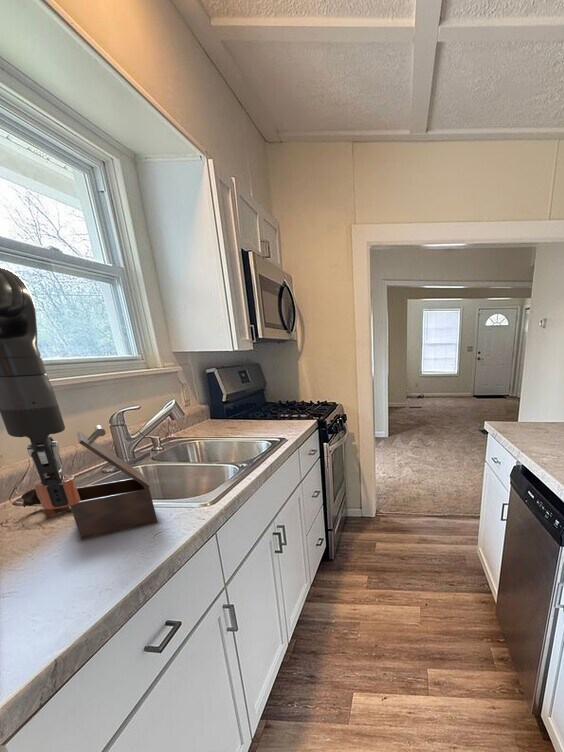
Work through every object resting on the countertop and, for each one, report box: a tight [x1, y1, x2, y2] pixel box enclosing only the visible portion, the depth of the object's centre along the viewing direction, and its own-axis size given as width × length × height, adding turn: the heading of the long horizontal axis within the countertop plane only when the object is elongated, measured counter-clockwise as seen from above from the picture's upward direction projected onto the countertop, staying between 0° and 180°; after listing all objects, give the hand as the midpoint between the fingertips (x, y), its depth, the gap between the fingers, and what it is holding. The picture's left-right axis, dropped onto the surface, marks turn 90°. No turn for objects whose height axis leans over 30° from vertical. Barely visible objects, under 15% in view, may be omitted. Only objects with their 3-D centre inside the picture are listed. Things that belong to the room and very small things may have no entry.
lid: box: [76, 424, 151, 489], centre depth 96 cm, size 16×13×5 cm
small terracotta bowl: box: [33, 474, 81, 509], centre depth 71 cm, size 6×6×4 cm
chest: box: [69, 478, 159, 540], centre depth 98 cm, size 16×13×9 cm
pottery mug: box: [21, 487, 71, 518], centre depth 107 cm, size 12×10×8 cm
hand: (61, 500), depth 72 cm, fingers closed on small terracotta bowl, 5 cm apart
